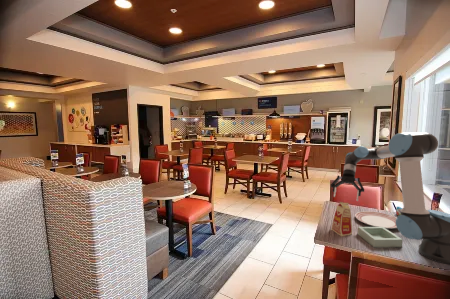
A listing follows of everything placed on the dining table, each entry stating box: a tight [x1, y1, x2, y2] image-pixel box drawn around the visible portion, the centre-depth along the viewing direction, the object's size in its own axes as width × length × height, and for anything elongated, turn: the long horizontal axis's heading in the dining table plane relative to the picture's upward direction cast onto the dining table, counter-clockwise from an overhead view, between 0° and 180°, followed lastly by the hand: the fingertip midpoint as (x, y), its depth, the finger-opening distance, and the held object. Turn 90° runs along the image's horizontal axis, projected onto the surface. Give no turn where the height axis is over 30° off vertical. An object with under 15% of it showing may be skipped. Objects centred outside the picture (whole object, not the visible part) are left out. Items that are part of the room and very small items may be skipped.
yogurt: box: [395, 206, 403, 217], centre depth 166 cm, size 12×2×6 cm, turn 177°
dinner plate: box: [354, 210, 397, 230], centre depth 158 cm, size 27×27×3 cm
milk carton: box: [330, 201, 353, 237], centre depth 144 cm, size 9×9×20 cm
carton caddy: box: [357, 226, 404, 249], centre depth 134 cm, size 16×16×5 cm
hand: (345, 198), depth 151 cm, fingers open, 13 cm apart
